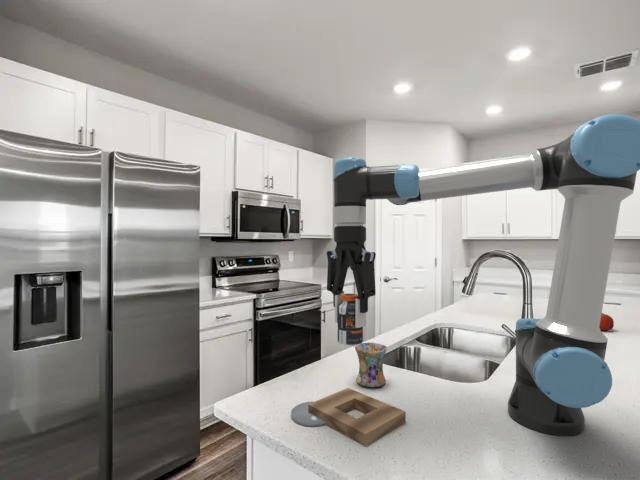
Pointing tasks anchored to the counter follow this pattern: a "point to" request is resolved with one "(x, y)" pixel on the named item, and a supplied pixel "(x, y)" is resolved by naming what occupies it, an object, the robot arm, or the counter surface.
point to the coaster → (306, 416)
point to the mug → (371, 364)
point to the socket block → (365, 427)
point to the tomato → (606, 322)
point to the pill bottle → (348, 321)
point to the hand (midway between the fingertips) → (350, 323)
